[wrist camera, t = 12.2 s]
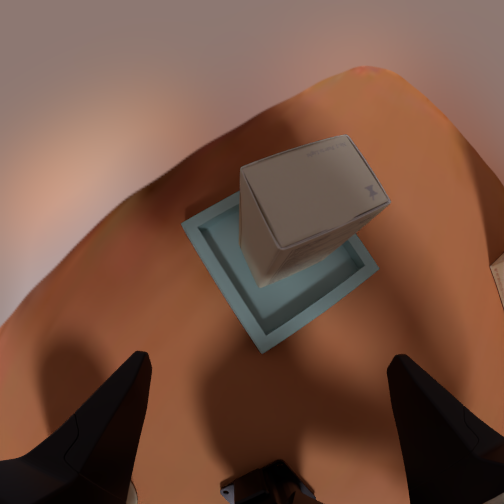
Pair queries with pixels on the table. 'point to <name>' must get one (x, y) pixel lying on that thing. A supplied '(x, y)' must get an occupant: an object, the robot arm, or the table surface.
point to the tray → (281, 292)
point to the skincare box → (304, 206)
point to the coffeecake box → (499, 275)
